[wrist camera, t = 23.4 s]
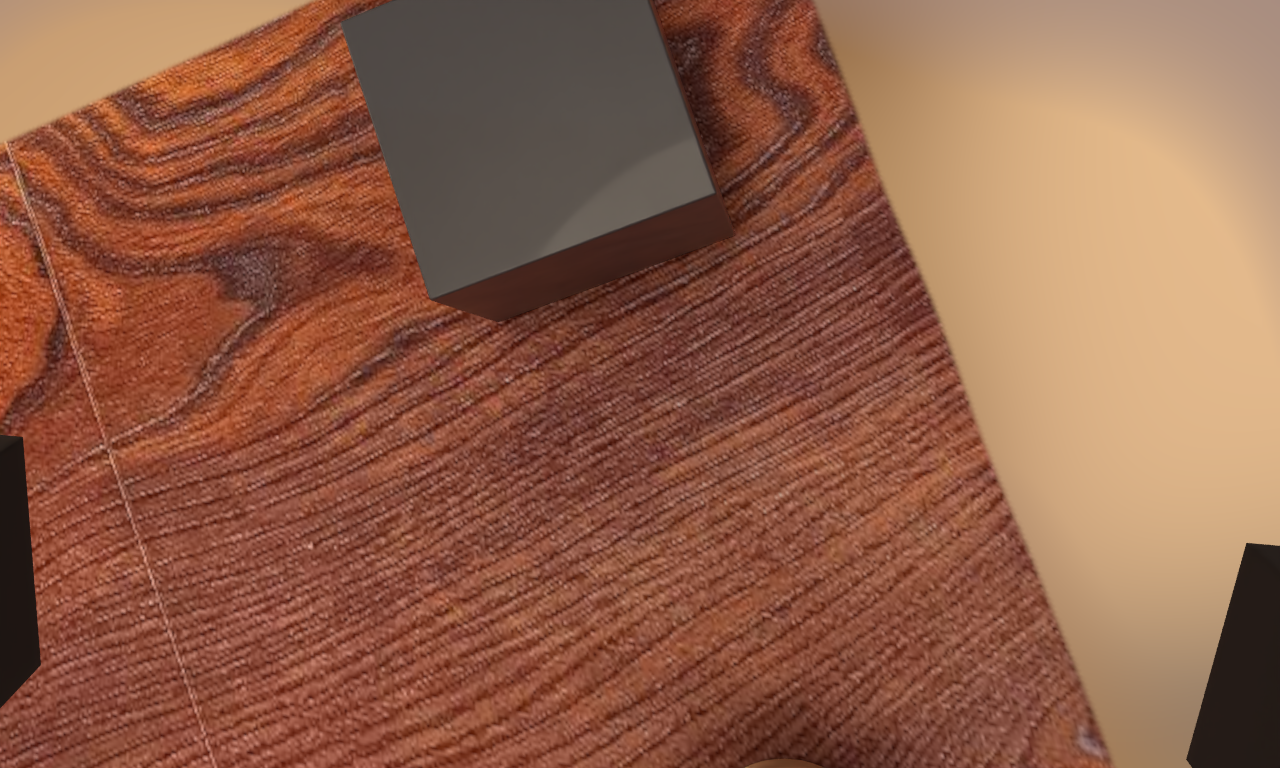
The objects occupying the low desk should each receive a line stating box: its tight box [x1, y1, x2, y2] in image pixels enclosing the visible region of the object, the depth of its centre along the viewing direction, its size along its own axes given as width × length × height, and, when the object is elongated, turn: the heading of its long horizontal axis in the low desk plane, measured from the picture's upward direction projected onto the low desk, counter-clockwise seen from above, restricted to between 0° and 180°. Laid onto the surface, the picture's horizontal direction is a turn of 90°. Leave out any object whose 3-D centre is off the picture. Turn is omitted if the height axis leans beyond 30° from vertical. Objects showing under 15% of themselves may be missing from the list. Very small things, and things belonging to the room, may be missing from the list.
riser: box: [341, 0, 735, 322], centre depth 41 cm, size 10×10×8 cm
